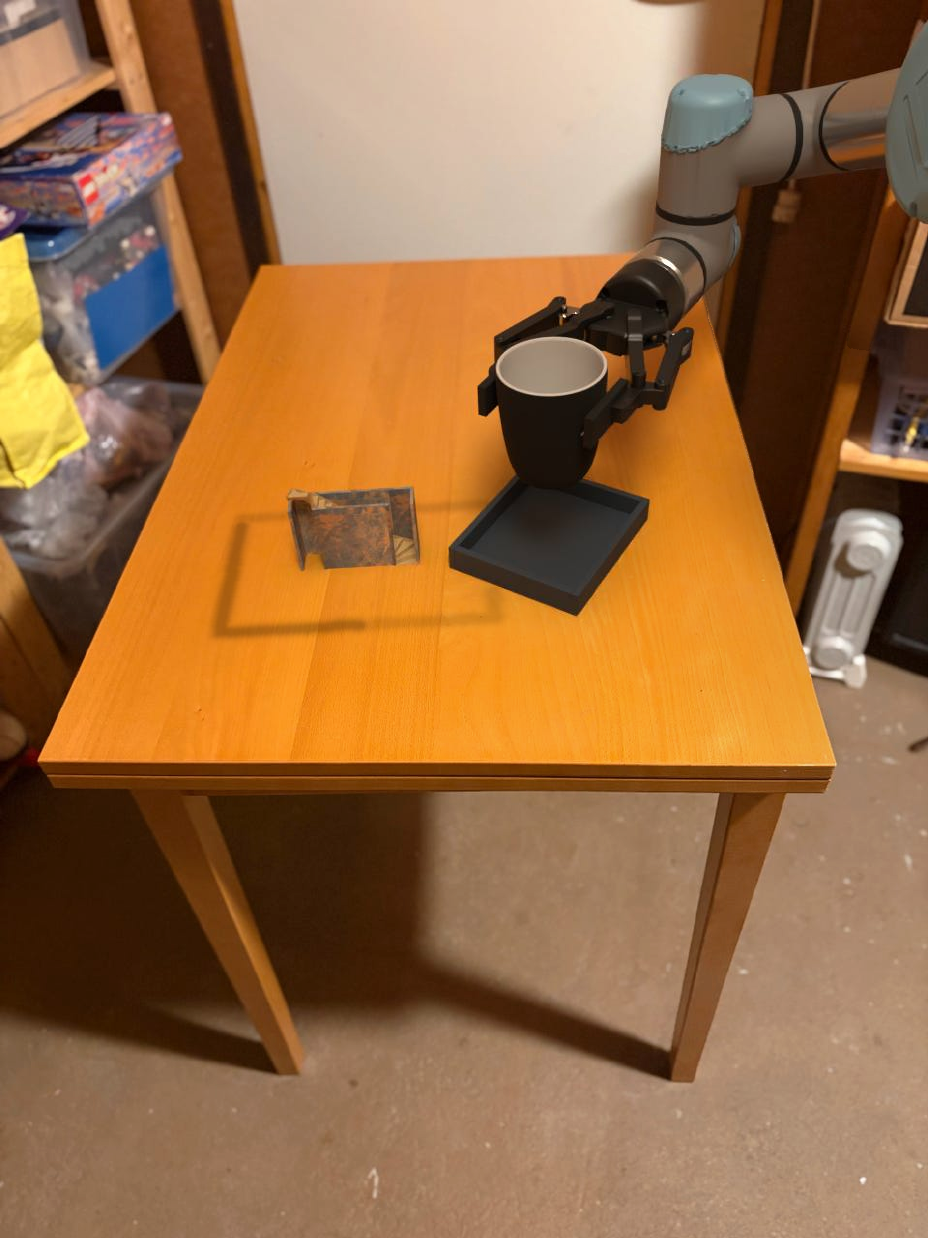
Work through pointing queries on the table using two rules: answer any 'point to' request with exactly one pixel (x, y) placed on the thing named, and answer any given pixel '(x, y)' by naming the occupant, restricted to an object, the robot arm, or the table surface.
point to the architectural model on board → (355, 527)
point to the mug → (549, 408)
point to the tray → (550, 540)
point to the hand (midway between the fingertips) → (533, 417)
